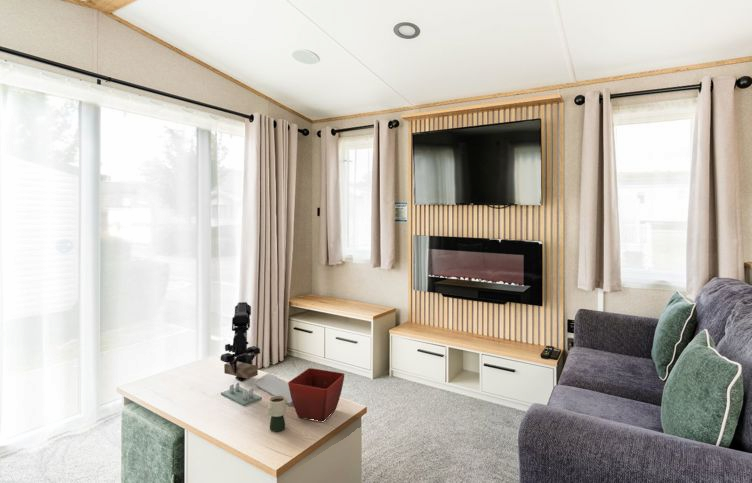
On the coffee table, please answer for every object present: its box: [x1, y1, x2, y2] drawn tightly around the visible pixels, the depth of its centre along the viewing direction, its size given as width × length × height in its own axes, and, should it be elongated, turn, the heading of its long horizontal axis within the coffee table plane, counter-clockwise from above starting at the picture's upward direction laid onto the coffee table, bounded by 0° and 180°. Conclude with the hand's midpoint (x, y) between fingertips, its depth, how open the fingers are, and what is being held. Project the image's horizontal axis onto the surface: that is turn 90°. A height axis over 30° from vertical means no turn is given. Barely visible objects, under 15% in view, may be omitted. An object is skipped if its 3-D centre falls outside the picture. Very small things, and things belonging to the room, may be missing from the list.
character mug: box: [267, 395, 288, 432], centre depth 167 cm, size 11×7×13 cm, turn 152°
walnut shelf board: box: [223, 361, 259, 380], centre depth 198 cm, size 16×6×4 cm, turn 64°
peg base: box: [220, 381, 263, 407], centre depth 198 cm, size 10×20×5 cm, turn 51°
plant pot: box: [288, 367, 345, 422], centre depth 181 cm, size 19×19×17 cm
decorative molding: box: [252, 372, 294, 407], centre depth 204 cm, size 34×5×10 cm
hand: (241, 371), depth 198 cm, fingers closed on walnut shelf board, 6 cm apart
